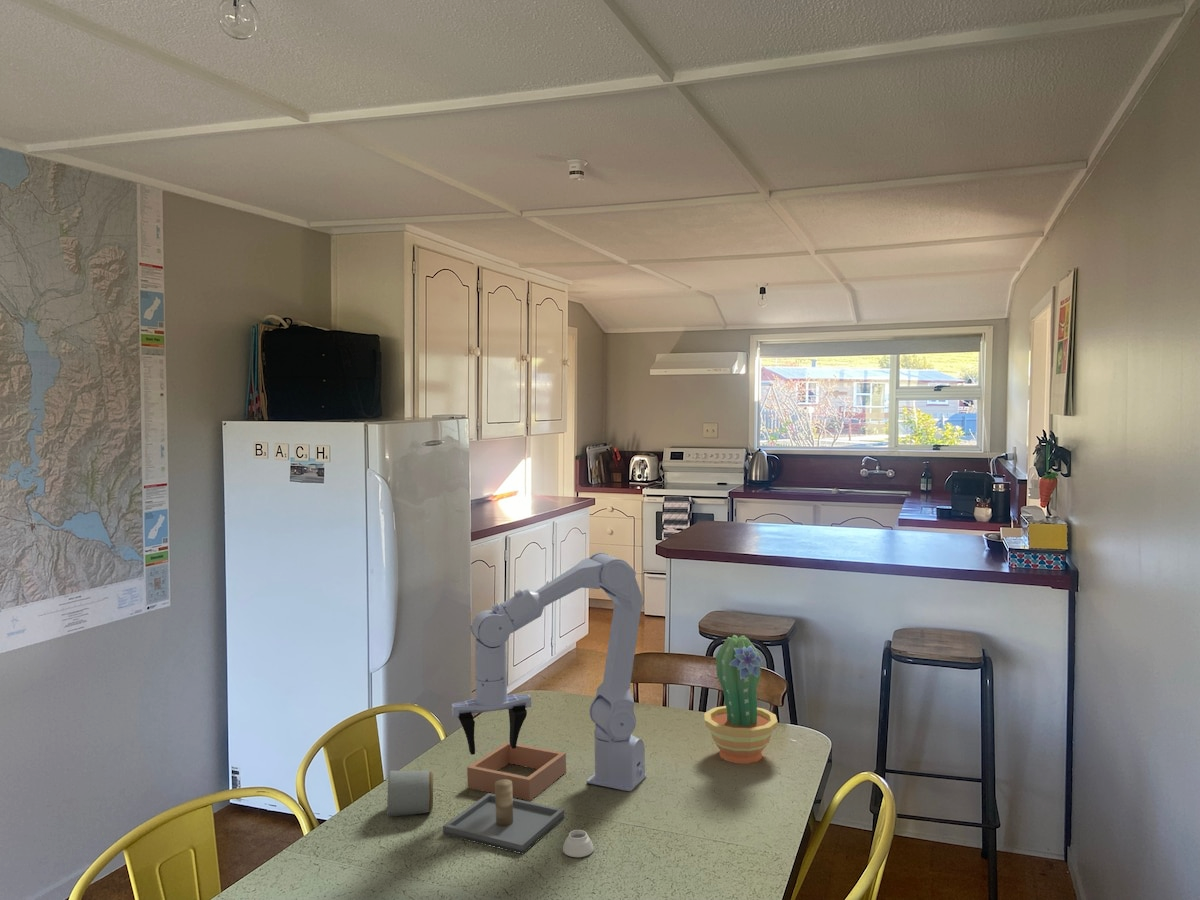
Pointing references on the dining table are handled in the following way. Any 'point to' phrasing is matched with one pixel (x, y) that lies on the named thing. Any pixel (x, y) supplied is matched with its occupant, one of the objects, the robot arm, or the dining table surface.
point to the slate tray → (515, 837)
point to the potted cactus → (740, 704)
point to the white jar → (578, 844)
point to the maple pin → (504, 802)
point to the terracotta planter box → (523, 787)
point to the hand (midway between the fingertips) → (492, 749)
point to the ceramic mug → (409, 792)
